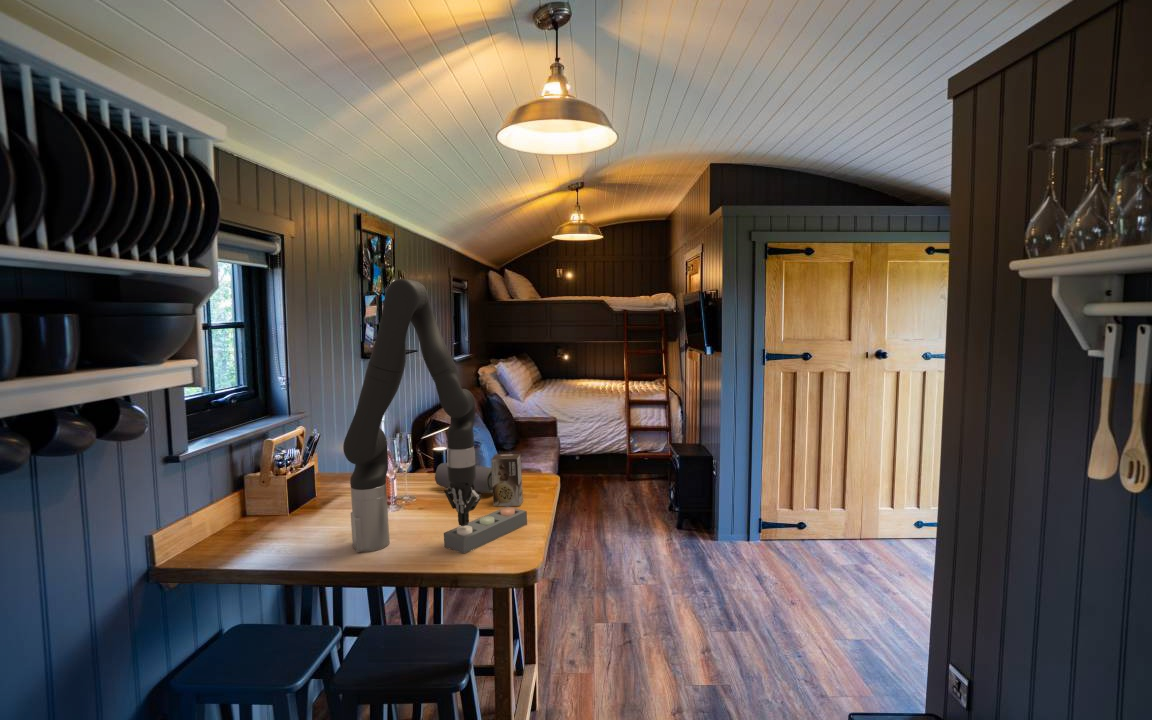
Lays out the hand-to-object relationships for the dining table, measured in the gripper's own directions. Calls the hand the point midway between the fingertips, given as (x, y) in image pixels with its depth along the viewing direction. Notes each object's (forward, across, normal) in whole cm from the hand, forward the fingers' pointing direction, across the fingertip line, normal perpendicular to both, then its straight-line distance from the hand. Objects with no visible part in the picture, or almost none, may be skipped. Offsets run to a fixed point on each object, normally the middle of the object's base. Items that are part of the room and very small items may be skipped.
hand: (463, 524), depth 155 cm
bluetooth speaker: (+6, +34, -33) cm, 48 cm away
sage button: (+4, 0, -9) cm, 10 cm away
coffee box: (+6, +14, -32) cm, 35 cm away
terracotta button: (+4, 0, -17) cm, 18 cm away
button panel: (+6, 0, -9) cm, 10 cm away
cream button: (+4, 0, 0) cm, 4 cm away
